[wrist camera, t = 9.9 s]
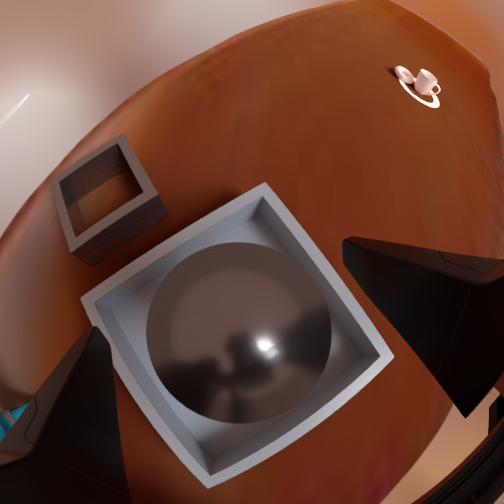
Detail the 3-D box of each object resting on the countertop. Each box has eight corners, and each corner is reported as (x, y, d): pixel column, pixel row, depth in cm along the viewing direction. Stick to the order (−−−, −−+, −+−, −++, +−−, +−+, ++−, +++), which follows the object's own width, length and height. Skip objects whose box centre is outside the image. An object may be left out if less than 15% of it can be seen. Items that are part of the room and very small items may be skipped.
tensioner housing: (168, 216, 21) (158, 194, 18) (92, 266, 19) (70, 252, 16) (134, 157, 23) (123, 132, 19) (68, 200, 21) (50, 181, 17)
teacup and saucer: (385, 71, 32) (394, 53, 28) (415, 76, 33) (424, 60, 29) (417, 108, 29) (430, 90, 26) (445, 111, 31) (457, 95, 27)
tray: (370, 355, 18) (394, 356, 15) (211, 467, 15) (207, 488, 12) (260, 205, 22) (265, 182, 18) (102, 305, 18) (80, 297, 15)
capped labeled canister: (275, 347, 18) (363, 349, 5) (226, 379, 17) (216, 454, 5) (242, 300, 19) (262, 211, 6) (193, 331, 18) (115, 302, 5)
